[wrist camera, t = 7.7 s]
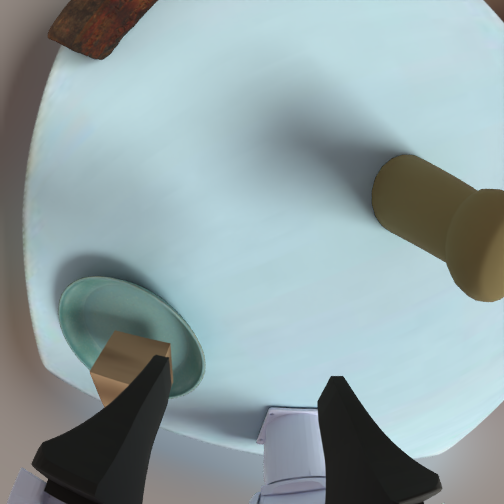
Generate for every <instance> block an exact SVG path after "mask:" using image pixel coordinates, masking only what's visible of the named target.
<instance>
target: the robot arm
mask: <svg viewBox="0 0 504 504" xmlns="http://www.w3.org/2000/svg"><path fill="white" fill-rule="evenodd" d="M171 386H172V384H171V374H170V363H169V357H165V356H160V355H154V356H153V358H152V359H151V360H150V361H149V363H148V364H147V365H146V366H145V368H144V369H143V370H142V371H141V372H140V373H139V375H138V376H137V377H136V378H135V379H134V380H133V381H132V382H131V383H130V384H129V385H128V387H127V388H126V389H125V390H124V391H122V392H121V393H120V394H119V395H118V396H117V397H116V398H115V399H114V400H113V401H112V402H111V403H109V404H108V405H107V406H106V407H105V408H103V409H102V410H101V411H100V412H98V413H97V414H95V415H94V416H93V417H91V418H90V419H88V420H87V421H85V422H84V423H82V424H80V425H79V426H77V427H75V428H73V429H72V430H70V431H68V432H66V433H64V434H62V435H60V436H57V437H55V438H52V439H50V440H48V441H45V442H43V443H42V444H41V446H40V447H39V449H38V451H37V453H36V455H35V457H34V459H33V462H32V466H33V467H34V468H35V469H36V470H37V471H39V472H40V473H41V474H43V475H44V476H45V477H46V478H48V481H47V483H46V482H44V481H43V480H41V479H40V478H38V477H36V476H35V475H33V474H32V473H30V472H28V471H27V470H26V469H24V468H21V469H20V472H19V474H18V476H17V478H16V481H15V483H14V486H13V488H12V491H11V493H10V496H9V498H8V501H7V504H142V501H143V493H144V486H145V480H146V474H147V469H148V464H149V459H150V454H151V450H152V446H153V443H154V440H155V437H156V434H157V431H158V429H159V426H160V423H161V420H162V418H163V415H164V412H165V409H166V406H167V403H168V399H169V395H170V390H171ZM317 402H318V409H295V408H275V407H272V408H269V409H268V412H267V415H266V417H265V420H264V423H263V425H262V428H261V430H260V433H259V436H258V438H257V444H264V482H265V485H262V486H261V492H257V493H255V494H254V496H253V497H252V498H251V499H250V501H249V504H424V502H423V501H425V500H427V499H429V498H430V497H432V496H434V495H436V494H437V493H439V492H440V491H441V490H442V486H441V482H440V479H439V476H438V474H436V473H434V472H432V471H431V470H429V469H427V468H425V467H424V466H422V465H421V464H419V463H418V462H416V461H415V460H413V459H412V458H411V457H409V456H408V455H407V454H406V453H404V452H403V451H402V450H401V449H400V448H399V447H397V446H396V445H395V444H394V443H393V442H392V441H391V440H390V439H389V438H388V437H387V436H386V435H385V434H384V432H383V431H382V430H381V429H380V428H379V427H378V425H377V424H376V423H375V422H374V420H373V419H372V418H371V416H370V415H369V414H368V412H367V411H366V410H365V408H364V407H363V405H362V404H361V402H360V401H359V400H358V398H357V397H356V395H355V394H354V392H353V390H352V389H351V387H350V386H349V384H348V383H347V381H346V380H345V378H344V377H343V376H331V377H330V379H329V381H328V383H327V385H326V387H325V388H324V390H323V392H322V394H321V396H320V398H319V400H318V401H317ZM442 504H445V503H442Z"/></svg>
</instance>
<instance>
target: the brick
mask: <svg viewBox="0 0 504 504" xmlns="http://www.w3.org/2000/svg"><path fill="white" fill-rule="evenodd" d="M157 1H158V0H71V1H70V2H69V3H68V4H67V6H66V7H65V8H64V9H63V10H62V12H61V13H60V15H59V16H58V17H57V19H56V20H55V21H54V23H53V25H52V26H51V28H50V30H49V32H48V38H49V39H51V40H54V41H56V42H58V43H60V44H62V45H63V46H65V47H67V48H69V49H71V50H73V51H75V52H77V53H81V54H84V55H86V56H89V57H90V58H93V59H99V60H102V59H104V58H106V57H107V56H109V55H110V54H111V53H112V51H113V50H114V48H115V47H116V46H117V45H118V43H119V42H120V40H121V39H122V38H123V36H124V35H125V34H126V33H127V32H128V31H129V30H130V29H131V28H133V27H134V26H135V25H136V23H137V22H138V21H139V20H140V18H141V17H143V15H144V14H145V13H146V12H147V11H148V10H149V9H150V8H151V7H152V6H153V5H154V4H155V3H156V2H157Z"/></svg>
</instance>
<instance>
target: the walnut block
mask: <svg viewBox="0 0 504 504" xmlns="http://www.w3.org/2000/svg"><path fill="white" fill-rule="evenodd" d="M154 355H160V356H165V357H169V363H170V374H171V384H173V372H172V359H171V343H167V342H162V341H157V340H153V339H149V338H144V337H140V336H136V335H132V334H128V333H124V332H120V331H116V330H115V331H114V332H113V334H112V336H111V337H110V339H109V340H108V342H107V343H106V345H105V347H104V348H103V350H102V352H101V353H100V355H99V357H98V358H97V360H96V362H95V363H94V365H93V367H92V368H91V370H90V374H91V377H92V379H93V382H94V384H95V387H96V389H97V392H98V394H99V396H100V399H101V401H102V403H103V405H104V407H106V406H107V405H108V404H109V403H111V402H112V401H113V400H114V399H115V398H116V397H117V396H118V395H119V394H120V393H121V392H122V391H124V390H125V389H126V388H127V387H128V385H129V384H130V383H131V382H132V381H133V380H134V379H135V378H136V377H137V376H138V375H139V373H140V372H141V371H142V370H143V369H144V368H145V366H146V365H147V364H148V363H149V361H150V360H151V359H152V358H153V356H154ZM171 387H172V386H171Z"/></svg>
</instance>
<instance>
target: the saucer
mask: <svg viewBox="0 0 504 504" xmlns="http://www.w3.org/2000/svg"><path fill="white" fill-rule="evenodd" d="M58 315H59V321H60V326H61V330H62V333H63V335H64V337H65V339H66V341H67V343H68V345H69V346H70V348H71V349H72V351H73V352H74V353H75V355H76V356H77V357H78V359H79V360H80V361H81V362H82V363H83V364H84V365H85V366H86V367H87V368H88V369H89V370H91V368H92V367H93V365H94V363H95V362H96V360H97V358H98V357H99V355H100V353H101V352H102V350H103V348H104V347H105V345H106V343H107V342H108V340H109V339H110V337H111V336H112V334H113V332H114V331H115V330H116V331H120V332H124V333H128V334H132V335H136V336H140V337H144V338H149V339H153V340H157V341H162V342H167V343H171V359H172V372H173V384H172V387H171V390H170V395H169V399H173V398H177V397H180V396H184V395H186V394H188V393H190V392H191V391H193V390H194V389H195V388H196V387H197V386H198V385H199V384H200V382H201V381H202V379H203V376H204V373H205V357H204V353H203V350H202V347H201V345H200V343H199V341H198V339H197V337H196V336H195V334H194V332H193V331H192V329H191V328H190V326H189V325H188V324H187V322H186V321H185V320H184V319H183V317H182V316H181V315H180V314H179V313H178V312H177V311H176V310H175V309H174V308H173V307H172V306H170V305H169V304H168V303H167V302H166V301H164V300H163V299H162V298H160V297H159V296H157V295H156V294H154V293H152V292H151V291H149V290H147V289H145V288H143V287H141V286H139V285H137V284H134V283H131V282H128V281H125V280H121V279H117V278H111V277H102V276H91V277H85V278H81V279H78V280H76V281H74V282H73V283H71V284H70V285H69V286H68V287H67V288H66V289H65V290H64V292H63V293H62V295H61V298H60V301H59V307H58Z"/></svg>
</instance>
